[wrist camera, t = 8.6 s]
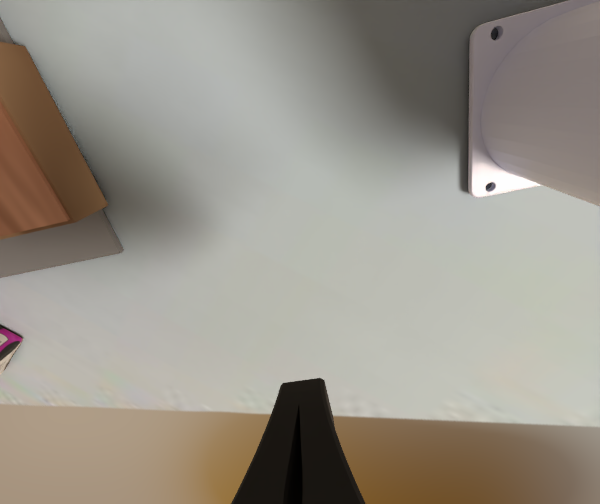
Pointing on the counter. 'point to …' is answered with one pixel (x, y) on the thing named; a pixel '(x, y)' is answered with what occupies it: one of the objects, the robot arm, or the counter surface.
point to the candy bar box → (7, 347)
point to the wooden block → (38, 154)
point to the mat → (57, 238)
